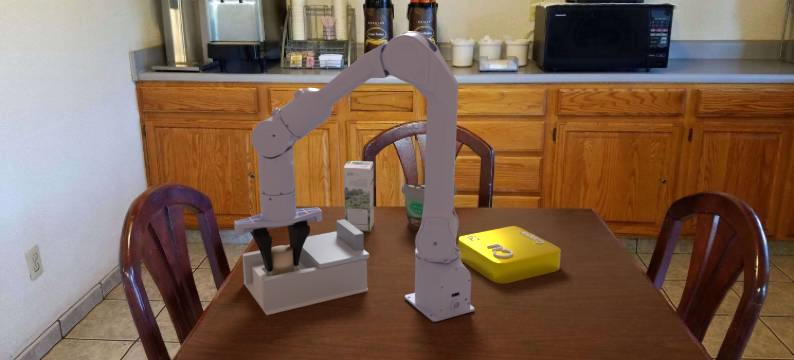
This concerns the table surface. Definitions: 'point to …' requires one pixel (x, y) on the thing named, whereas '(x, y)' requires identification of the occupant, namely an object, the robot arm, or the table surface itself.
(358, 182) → the syrup box
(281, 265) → the beige cylinder
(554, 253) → the element tile
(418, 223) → the food container
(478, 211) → the table surface
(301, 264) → the housing
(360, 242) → the lid
